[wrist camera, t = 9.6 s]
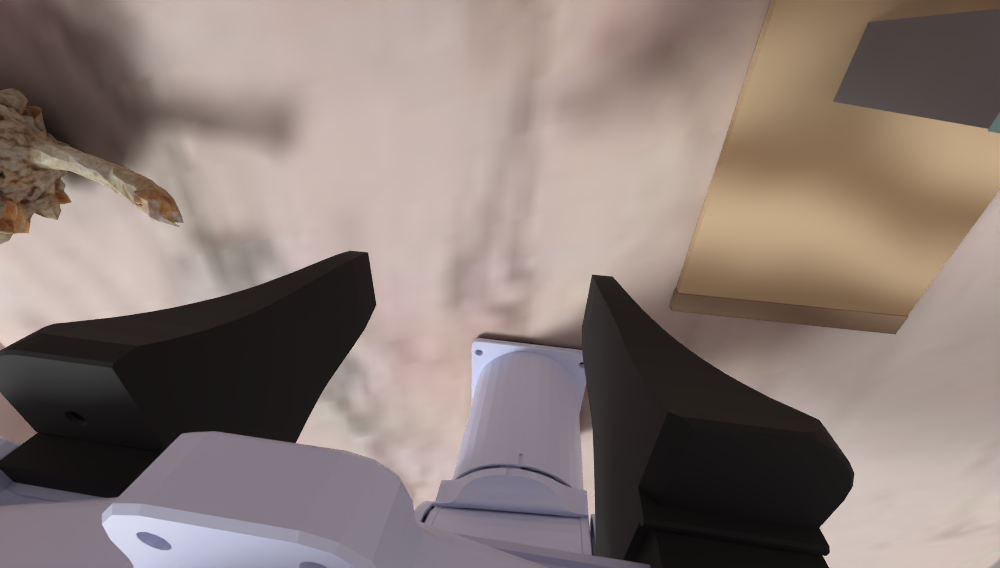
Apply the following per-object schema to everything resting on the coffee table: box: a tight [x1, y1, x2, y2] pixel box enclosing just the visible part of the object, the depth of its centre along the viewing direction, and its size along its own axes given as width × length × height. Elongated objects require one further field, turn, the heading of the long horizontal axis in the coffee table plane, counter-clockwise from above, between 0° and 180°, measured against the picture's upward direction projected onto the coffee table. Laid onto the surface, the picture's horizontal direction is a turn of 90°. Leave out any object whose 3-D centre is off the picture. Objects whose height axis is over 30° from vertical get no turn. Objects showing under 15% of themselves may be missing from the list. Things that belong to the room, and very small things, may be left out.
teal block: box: [833, 9, 1000, 133], centre depth 12 cm, size 3×3×9 cm
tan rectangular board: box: [670, 0, 1000, 334], centre depth 18 cm, size 16×12×1 cm
